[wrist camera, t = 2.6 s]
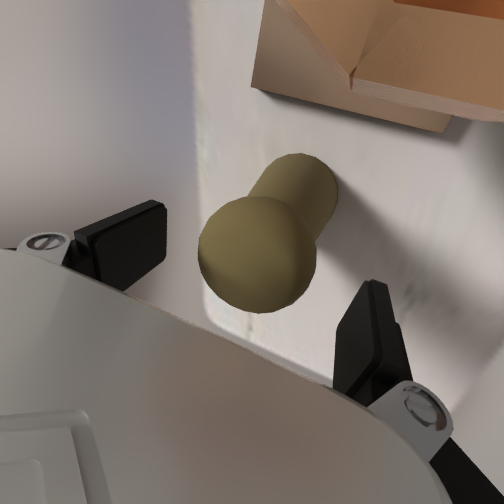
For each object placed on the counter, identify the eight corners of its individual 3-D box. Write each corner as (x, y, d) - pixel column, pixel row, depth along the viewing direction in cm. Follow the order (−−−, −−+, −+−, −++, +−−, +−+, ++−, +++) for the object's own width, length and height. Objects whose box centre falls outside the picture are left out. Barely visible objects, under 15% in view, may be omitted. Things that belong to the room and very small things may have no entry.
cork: (352, 213, 18) (351, 321, 9) (280, 243, 21) (226, 344, 12) (314, 134, 16) (266, 166, 7) (243, 179, 19) (147, 240, 10)
